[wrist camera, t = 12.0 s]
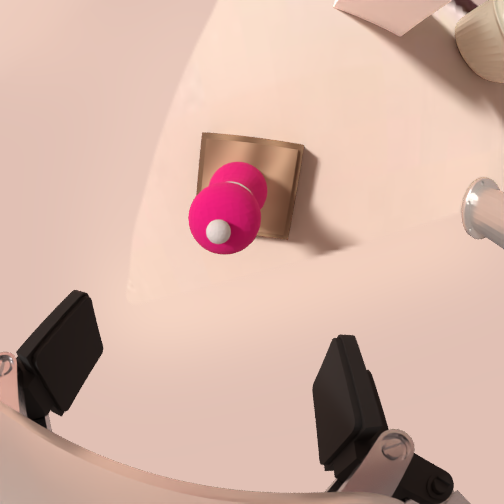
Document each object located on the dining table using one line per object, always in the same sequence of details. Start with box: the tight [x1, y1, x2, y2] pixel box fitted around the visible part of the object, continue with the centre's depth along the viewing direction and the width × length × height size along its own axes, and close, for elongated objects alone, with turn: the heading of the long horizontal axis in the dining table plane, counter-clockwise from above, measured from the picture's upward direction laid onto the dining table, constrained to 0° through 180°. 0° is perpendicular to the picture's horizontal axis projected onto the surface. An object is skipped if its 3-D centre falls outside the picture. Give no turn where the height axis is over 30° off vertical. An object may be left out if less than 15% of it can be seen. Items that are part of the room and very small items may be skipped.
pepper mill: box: [188, 162, 268, 254], centre depth 28 cm, size 7×7×20 cm
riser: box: [196, 133, 304, 240], centre depth 39 cm, size 14×14×4 cm
